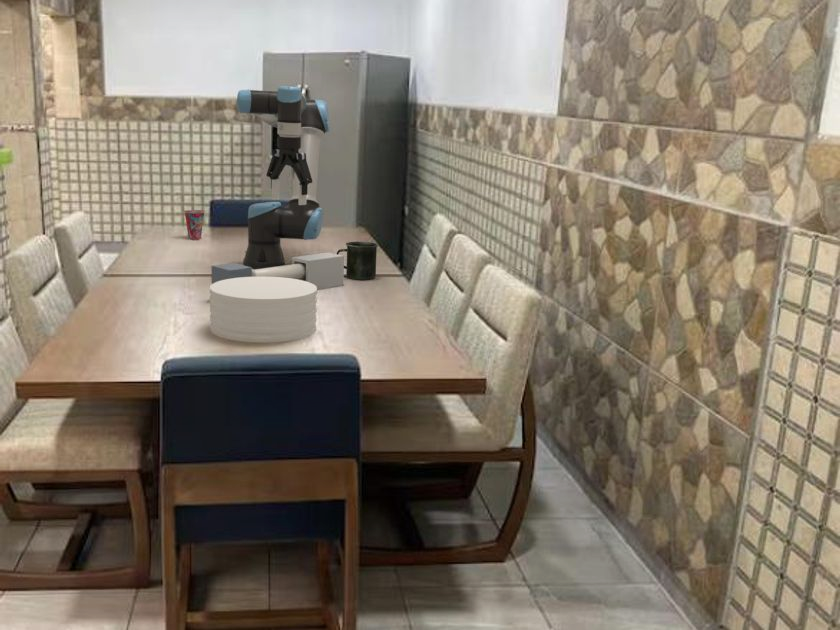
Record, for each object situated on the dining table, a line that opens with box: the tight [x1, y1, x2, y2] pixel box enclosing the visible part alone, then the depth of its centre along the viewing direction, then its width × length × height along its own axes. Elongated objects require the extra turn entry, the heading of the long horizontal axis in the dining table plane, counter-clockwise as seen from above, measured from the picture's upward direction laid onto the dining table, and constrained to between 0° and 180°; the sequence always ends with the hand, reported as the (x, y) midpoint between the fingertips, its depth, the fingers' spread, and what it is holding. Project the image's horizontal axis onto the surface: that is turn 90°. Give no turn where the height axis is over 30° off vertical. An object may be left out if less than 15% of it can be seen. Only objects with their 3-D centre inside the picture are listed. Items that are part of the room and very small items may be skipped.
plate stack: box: [209, 277, 318, 343], centre depth 225 cm, size 28×28×12 cm
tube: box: [252, 263, 306, 279], centre depth 264 cm, size 32×7×7 cm, turn 139°
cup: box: [183, 209, 206, 241], centre depth 359 cm, size 9×8×12 cm
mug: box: [336, 241, 379, 281], centre depth 296 cm, size 11×15×12 cm
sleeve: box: [291, 252, 345, 291], centre depth 279 cm, size 16×8×10 cm, turn 139°
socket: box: [211, 262, 253, 285], centre depth 253 cm, size 8×9×10 cm
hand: (288, 202), depth 275 cm, fingers open, 13 cm apart
